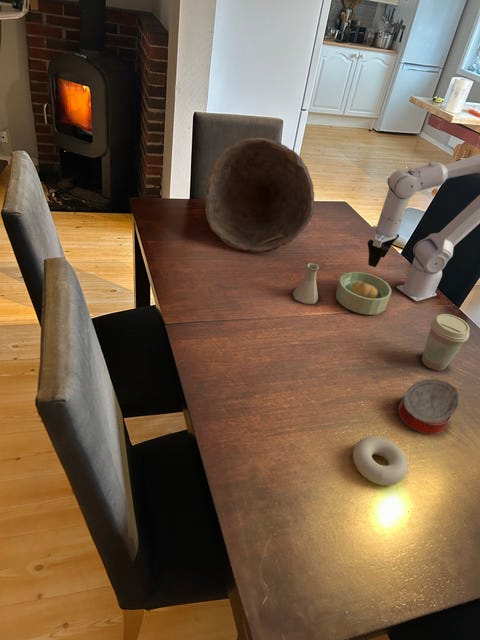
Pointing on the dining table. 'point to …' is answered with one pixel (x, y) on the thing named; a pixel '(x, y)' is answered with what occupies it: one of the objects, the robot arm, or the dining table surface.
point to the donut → (376, 471)
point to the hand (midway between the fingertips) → (376, 260)
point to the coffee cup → (444, 340)
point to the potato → (364, 290)
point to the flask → (308, 286)
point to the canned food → (428, 405)
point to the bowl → (259, 195)
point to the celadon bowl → (359, 302)
